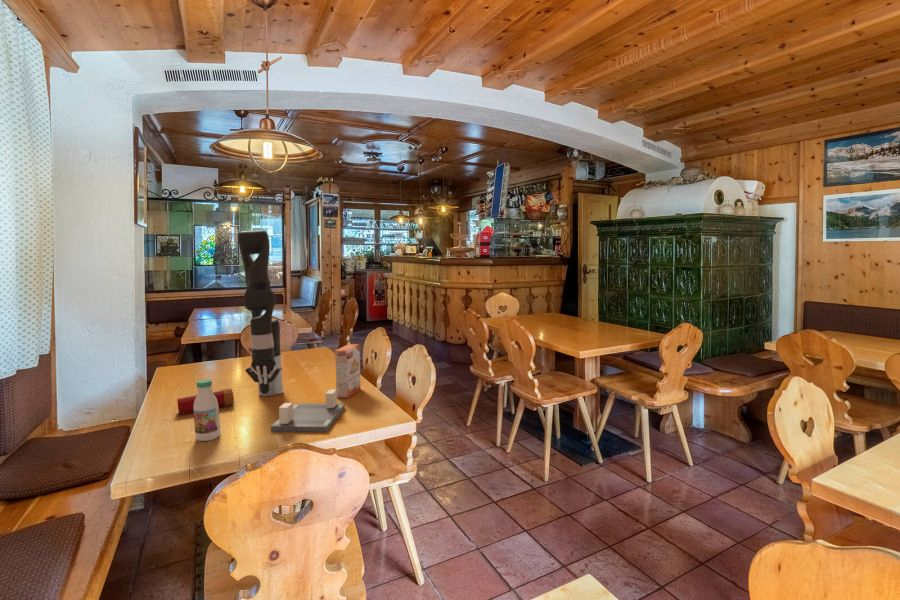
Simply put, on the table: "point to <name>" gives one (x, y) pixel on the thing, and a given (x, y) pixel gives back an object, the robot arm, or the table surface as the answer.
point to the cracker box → (347, 370)
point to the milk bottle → (206, 412)
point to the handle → (331, 398)
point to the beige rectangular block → (285, 413)
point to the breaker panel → (310, 418)
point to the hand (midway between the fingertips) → (265, 393)
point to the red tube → (222, 396)
